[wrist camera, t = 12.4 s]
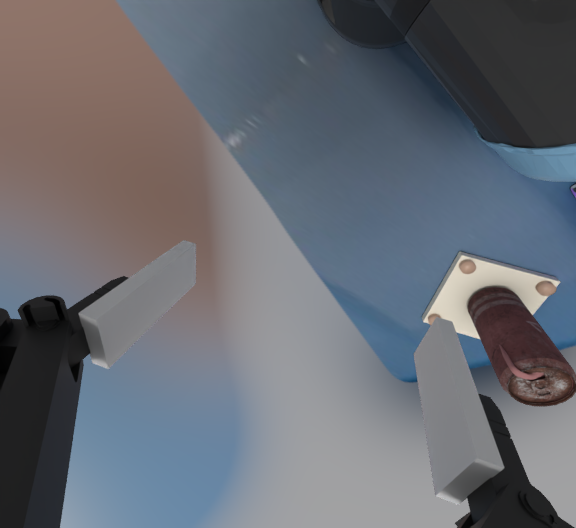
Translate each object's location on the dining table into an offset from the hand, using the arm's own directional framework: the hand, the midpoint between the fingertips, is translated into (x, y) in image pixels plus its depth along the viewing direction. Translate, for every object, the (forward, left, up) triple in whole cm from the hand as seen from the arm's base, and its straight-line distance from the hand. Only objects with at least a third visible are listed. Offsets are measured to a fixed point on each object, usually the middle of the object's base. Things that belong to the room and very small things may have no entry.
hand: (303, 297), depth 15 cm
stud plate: (+11, +23, -27) cm, 37 cm away
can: (+11, +24, -26) cm, 36 cm away
